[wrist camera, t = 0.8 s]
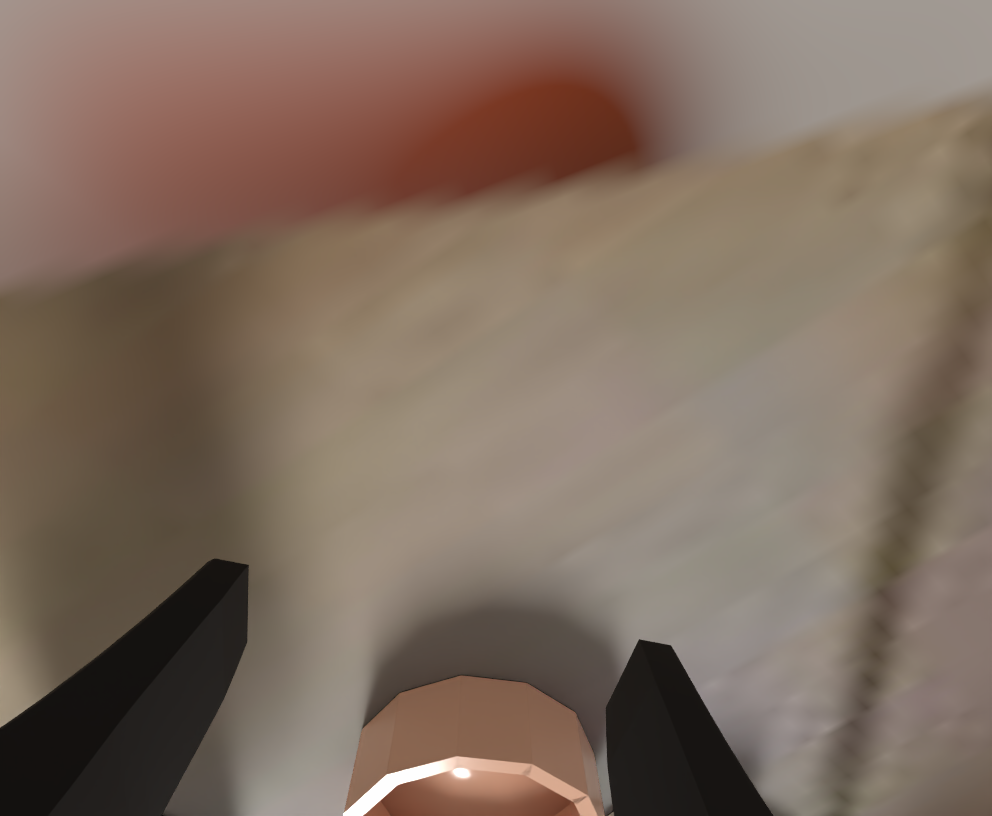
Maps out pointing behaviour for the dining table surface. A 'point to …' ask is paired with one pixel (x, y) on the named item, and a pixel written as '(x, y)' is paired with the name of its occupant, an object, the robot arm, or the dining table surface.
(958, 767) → the dining table surface
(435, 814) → the terracotta bowl
